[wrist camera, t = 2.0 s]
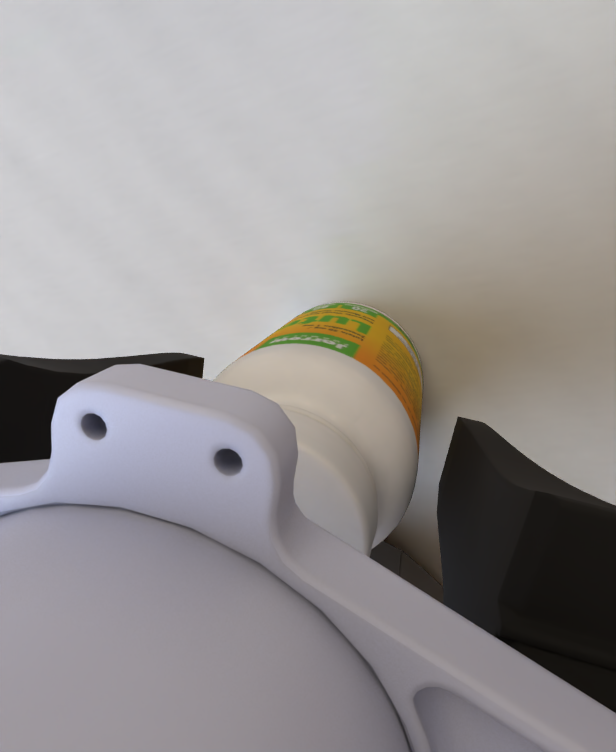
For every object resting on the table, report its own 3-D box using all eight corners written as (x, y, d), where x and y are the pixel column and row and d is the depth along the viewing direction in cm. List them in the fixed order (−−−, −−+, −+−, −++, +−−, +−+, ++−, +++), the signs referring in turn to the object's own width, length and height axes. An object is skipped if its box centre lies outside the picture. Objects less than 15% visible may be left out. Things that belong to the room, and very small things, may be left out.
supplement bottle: (392, 275, 17) (345, 345, 8) (444, 422, 18) (456, 638, 9) (250, 329, 18) (71, 438, 9) (305, 460, 19) (193, 673, 10)
